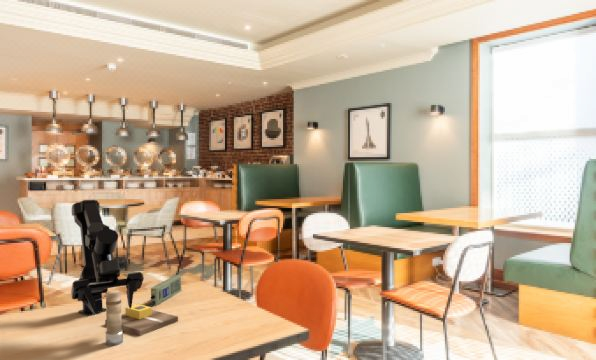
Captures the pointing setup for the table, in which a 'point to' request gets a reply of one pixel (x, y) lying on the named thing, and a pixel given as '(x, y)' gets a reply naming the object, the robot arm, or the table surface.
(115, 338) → the beige ringed cylinder
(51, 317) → the table surface
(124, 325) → the subfloor panel
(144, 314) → the block
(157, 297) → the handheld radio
